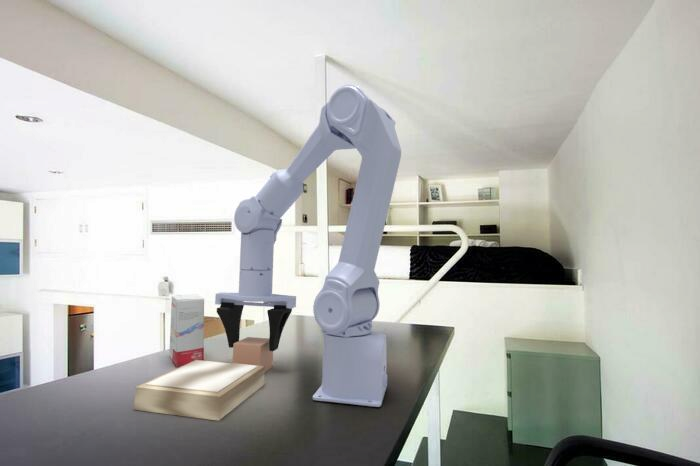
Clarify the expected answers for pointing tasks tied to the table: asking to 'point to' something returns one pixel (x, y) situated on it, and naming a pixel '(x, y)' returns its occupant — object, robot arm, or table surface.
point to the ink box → (187, 329)
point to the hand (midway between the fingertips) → (253, 347)
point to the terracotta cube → (253, 352)
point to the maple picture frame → (200, 389)
